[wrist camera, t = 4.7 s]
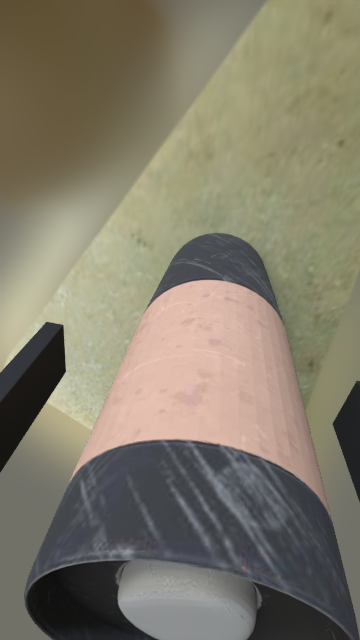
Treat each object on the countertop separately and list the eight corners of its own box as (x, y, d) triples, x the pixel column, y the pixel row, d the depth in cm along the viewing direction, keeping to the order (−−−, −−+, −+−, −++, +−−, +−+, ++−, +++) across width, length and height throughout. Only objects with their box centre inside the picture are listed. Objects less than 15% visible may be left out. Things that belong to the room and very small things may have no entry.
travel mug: (157, 233, 23) (-46, 537, 6) (270, 223, 22) (409, 577, 5) (172, 326, 27) (71, 675, 10) (269, 322, 26) (345, 718, 9)
